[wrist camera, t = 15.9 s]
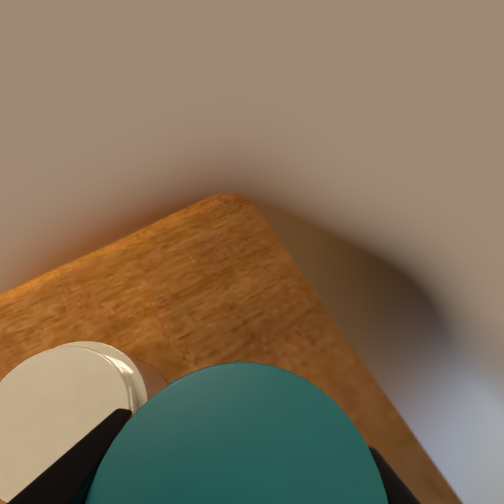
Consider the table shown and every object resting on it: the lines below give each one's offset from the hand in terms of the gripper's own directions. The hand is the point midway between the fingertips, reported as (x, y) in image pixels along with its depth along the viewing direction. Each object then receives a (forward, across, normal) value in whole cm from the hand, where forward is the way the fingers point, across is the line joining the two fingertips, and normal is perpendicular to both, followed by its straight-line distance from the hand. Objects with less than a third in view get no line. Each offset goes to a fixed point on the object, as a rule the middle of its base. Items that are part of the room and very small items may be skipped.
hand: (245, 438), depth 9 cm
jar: (+9, +7, +10) cm, 14 cm away
